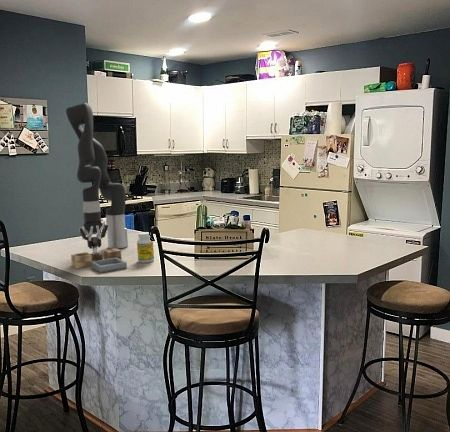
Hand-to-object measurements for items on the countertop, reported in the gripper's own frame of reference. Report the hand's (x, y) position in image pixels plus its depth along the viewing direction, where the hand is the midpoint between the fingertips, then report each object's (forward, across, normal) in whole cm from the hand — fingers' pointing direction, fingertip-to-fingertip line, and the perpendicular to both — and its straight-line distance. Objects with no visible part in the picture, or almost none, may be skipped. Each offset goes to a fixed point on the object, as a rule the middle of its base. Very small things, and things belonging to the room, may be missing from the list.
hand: (94, 247), depth 231 cm
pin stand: (+6, 0, 0) cm, 6 cm away
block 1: (+6, +8, +5) cm, 11 cm away
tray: (+6, 0, +17) cm, 18 cm away
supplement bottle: (+6, -18, +16) cm, 25 cm away
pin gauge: (+6, 0, 0) cm, 6 cm away
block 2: (+6, -6, +6) cm, 10 cm away
